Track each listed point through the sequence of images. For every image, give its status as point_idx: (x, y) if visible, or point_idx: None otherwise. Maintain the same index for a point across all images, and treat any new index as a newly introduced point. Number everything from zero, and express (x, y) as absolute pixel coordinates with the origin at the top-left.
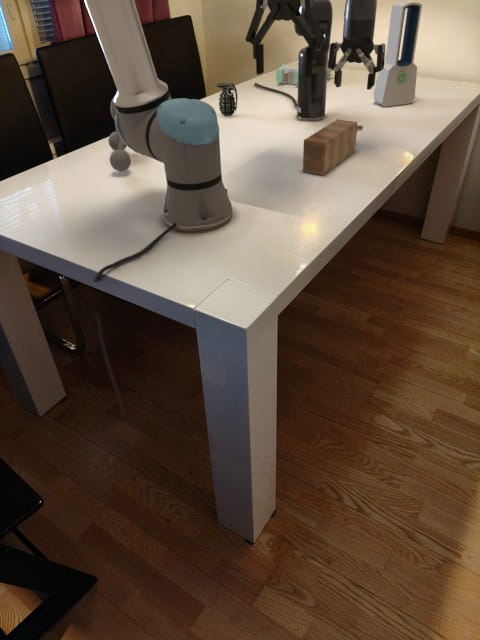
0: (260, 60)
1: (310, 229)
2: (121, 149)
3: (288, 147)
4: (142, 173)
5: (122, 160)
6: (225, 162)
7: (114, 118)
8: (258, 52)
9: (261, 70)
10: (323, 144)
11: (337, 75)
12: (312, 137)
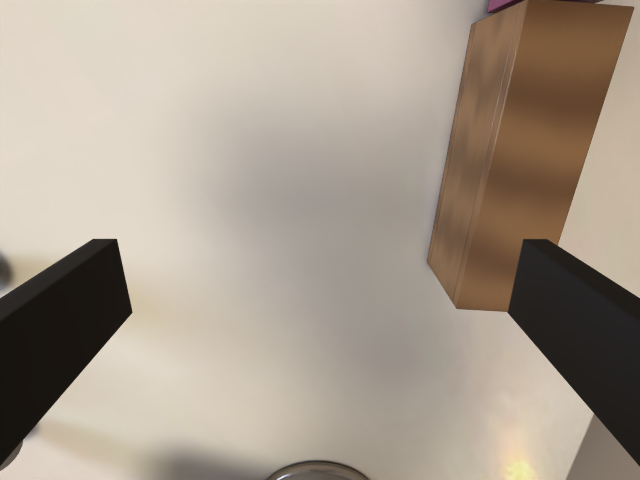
0: (68, 345)
1: (521, 475)
2: None
3: (299, 78)
4: (56, 406)
5: (8, 463)
6: (189, 279)
7: None
8: (21, 437)
9: (114, 287)
10: None
11: None
12: (479, 277)
